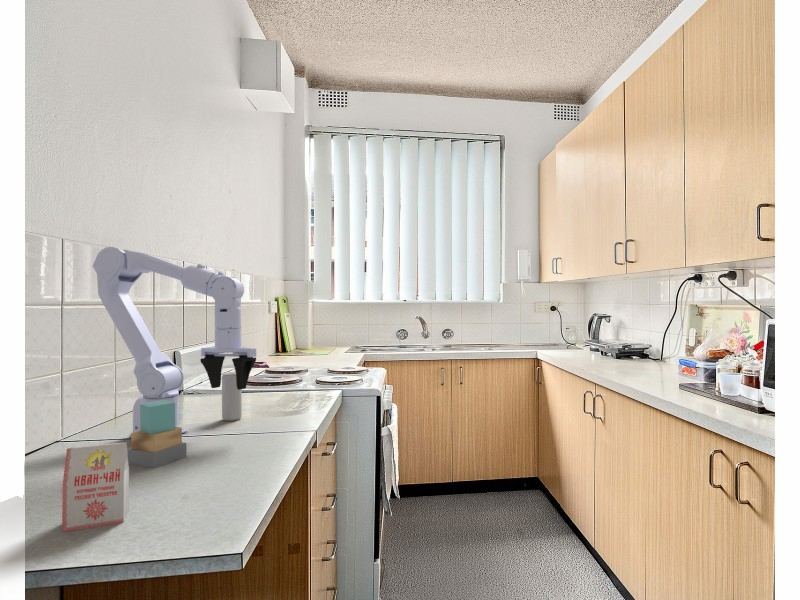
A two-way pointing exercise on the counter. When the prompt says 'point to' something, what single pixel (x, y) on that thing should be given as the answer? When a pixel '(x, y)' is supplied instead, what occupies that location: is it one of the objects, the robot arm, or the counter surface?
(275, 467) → the counter surface
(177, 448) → the tower base
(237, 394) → the beverage can
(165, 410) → the teal block
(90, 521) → the tea box
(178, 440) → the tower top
